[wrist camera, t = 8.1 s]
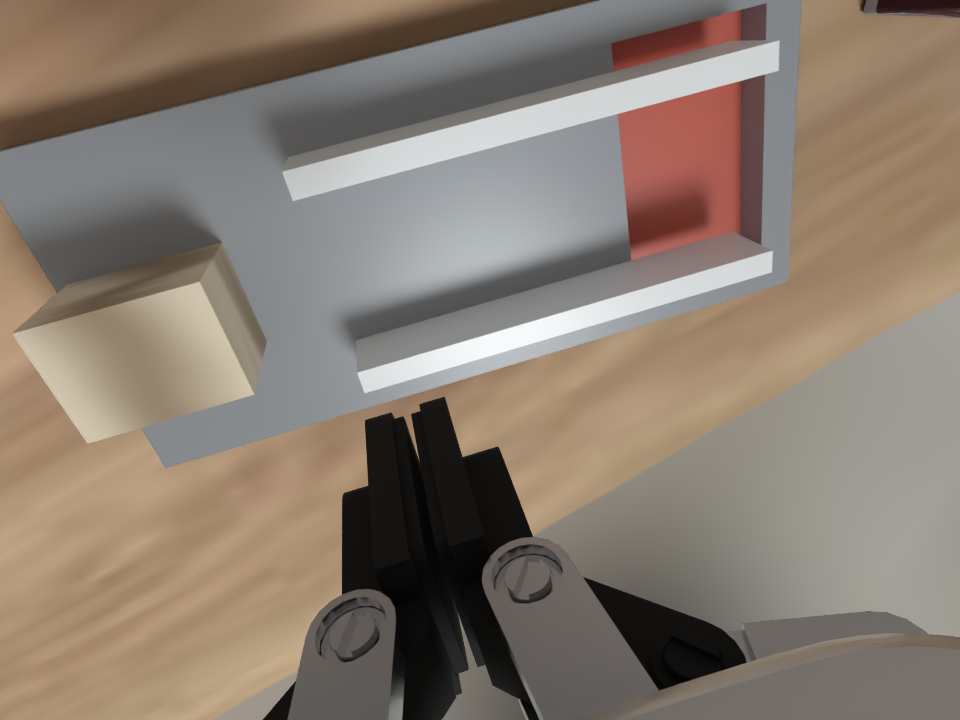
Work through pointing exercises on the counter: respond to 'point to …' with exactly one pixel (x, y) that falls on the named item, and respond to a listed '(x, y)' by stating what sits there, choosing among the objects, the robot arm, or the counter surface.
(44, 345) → the maple block
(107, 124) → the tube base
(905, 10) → the supplement box
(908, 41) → the counter surface
